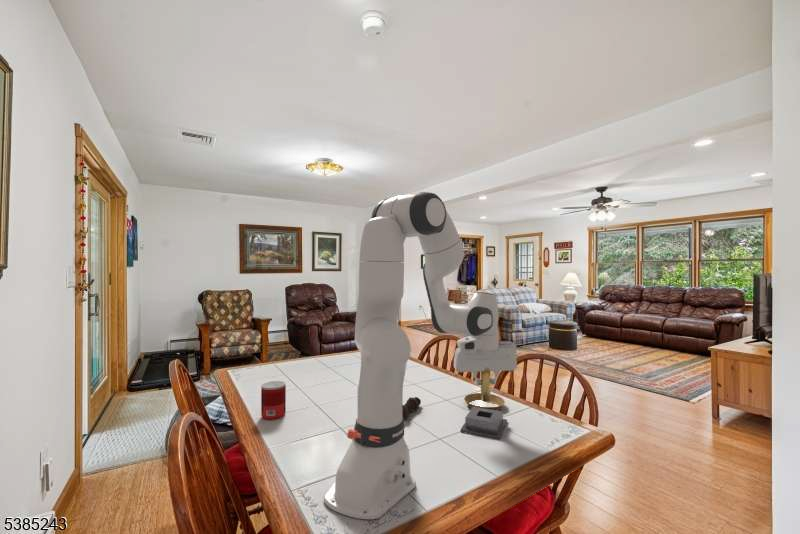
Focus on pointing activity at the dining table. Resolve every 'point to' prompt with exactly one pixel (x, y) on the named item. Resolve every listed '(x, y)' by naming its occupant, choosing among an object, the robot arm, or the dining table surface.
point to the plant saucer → (494, 400)
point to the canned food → (273, 400)
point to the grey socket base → (484, 422)
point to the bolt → (410, 406)
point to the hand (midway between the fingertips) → (485, 384)
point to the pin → (485, 385)
